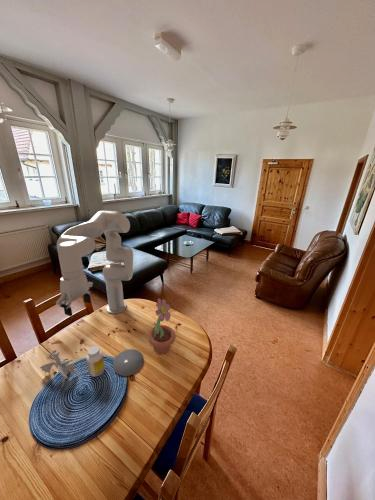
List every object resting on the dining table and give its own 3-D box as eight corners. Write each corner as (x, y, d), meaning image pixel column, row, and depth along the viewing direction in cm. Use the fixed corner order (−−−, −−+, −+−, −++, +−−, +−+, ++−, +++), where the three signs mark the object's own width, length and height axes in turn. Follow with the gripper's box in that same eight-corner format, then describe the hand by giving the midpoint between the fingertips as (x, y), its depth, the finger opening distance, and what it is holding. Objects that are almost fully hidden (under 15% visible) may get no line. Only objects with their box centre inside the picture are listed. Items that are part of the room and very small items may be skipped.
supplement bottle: (107, 365, 97) (104, 344, 92) (100, 378, 91) (97, 357, 86) (93, 363, 98) (90, 343, 93) (86, 376, 91) (81, 355, 87)
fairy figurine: (71, 391, 83) (47, 371, 77) (48, 384, 92) (25, 366, 86) (88, 367, 90) (67, 347, 84) (65, 362, 99) (45, 345, 93)
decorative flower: (170, 364, 99) (171, 314, 88) (143, 358, 101) (141, 309, 90) (177, 340, 113) (179, 294, 101) (154, 335, 115) (153, 290, 104)
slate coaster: (112, 354, 103) (112, 353, 102) (141, 347, 107) (141, 346, 107) (113, 380, 90) (113, 378, 90) (145, 371, 95) (145, 369, 95)
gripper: (82, 262, 90) (87, 295, 96) (45, 279, 75) (53, 318, 81) (96, 265, 88) (100, 299, 94) (60, 284, 73) (67, 323, 78)
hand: (78, 308), depth 87 cm, fingers open, 9 cm apart
